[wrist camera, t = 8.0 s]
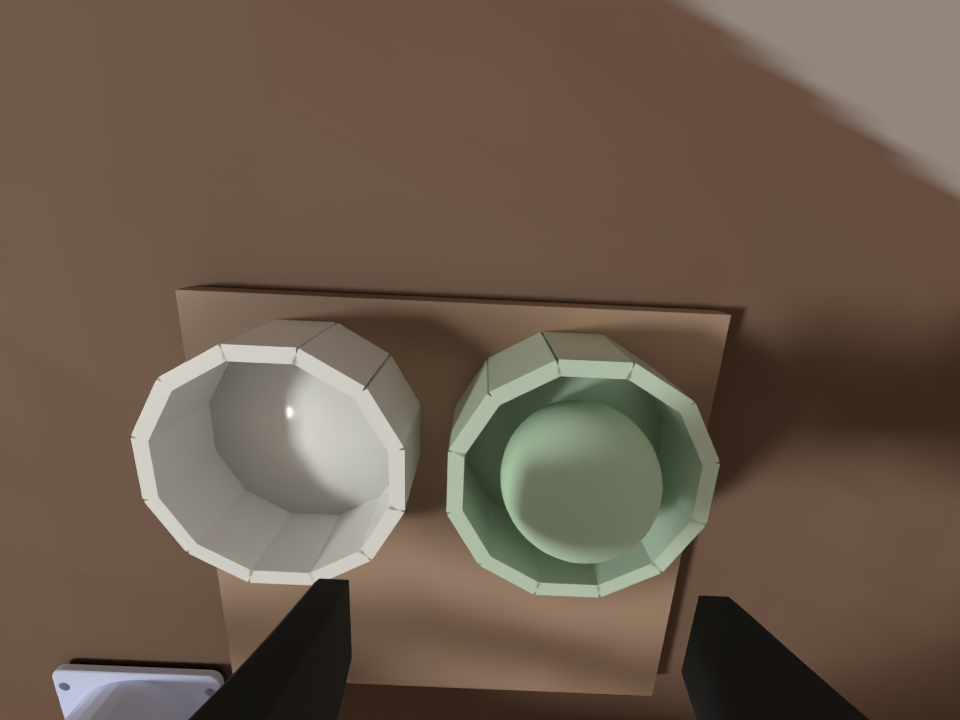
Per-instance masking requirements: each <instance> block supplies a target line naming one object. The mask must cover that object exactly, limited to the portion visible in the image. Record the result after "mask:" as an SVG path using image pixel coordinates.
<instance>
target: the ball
mask: <svg viewBox="0 0 960 720" xmlns="http://www.w3.org/2000/svg"><path fill="white" fill-rule="evenodd" d="M501 490H502V495H503V500H504V503H505V506H506V509H507V511H508V513H509V515H510V517H511V519H512V521H513V522H514V524H515V525H516V527H517V528H518V530H519V531H520V532H521V533H522V534H523V535H524V537H525V538H526V539H527V540H528V541H530V542H531V543H532V544H533V545H534V546H536V547H537V548H538V549H540V550H541V551H543V552H545V553H546V554H548V555H551V556H553V557H555V558H558V559H561V560H564V561H567V562H572V563H582V564H586V563H599V562H604V561H608V560H611V559H614V558H617V557H619V556H621V555H623V554H625V553H626V552H628V551H629V550H631V549H632V548H633V547H634V546H636V545H637V544H638V543H639V542H640V541H641V540H642V539H643V538H644V537H645V536H646V534H647V533H648V532H649V530H650V529H651V527H652V525H653V523H654V521H655V519H656V517H657V514H658V512H659V509H660V505H661V499H662V490H663V484H662V473H661V468H660V464H659V461H658V458H657V455H656V453H655V450H654V448H653V446H652V445H651V443H650V441H649V440H648V438H647V437H646V435H645V434H644V433H643V431H642V430H641V429H640V428H639V427H638V426H637V425H636V424H635V423H634V422H633V421H632V420H631V419H630V418H628V417H627V416H625V415H624V414H623V413H621V412H619V411H617V410H615V409H613V408H611V407H610V406H607V405H604V404H601V403H597V402H593V401H587V400H566V401H560V402H556V403H553V404H550V405H548V406H545V407H543V408H541V409H539V410H537V411H536V412H534V413H533V414H531V415H530V416H529V417H527V418H526V419H525V420H524V421H523V422H522V423H521V424H520V426H519V427H518V428H517V429H516V430H515V432H514V433H513V435H512V437H511V438H510V440H509V442H508V444H507V446H506V449H505V452H504V455H503V459H502V464H501Z"/></svg>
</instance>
